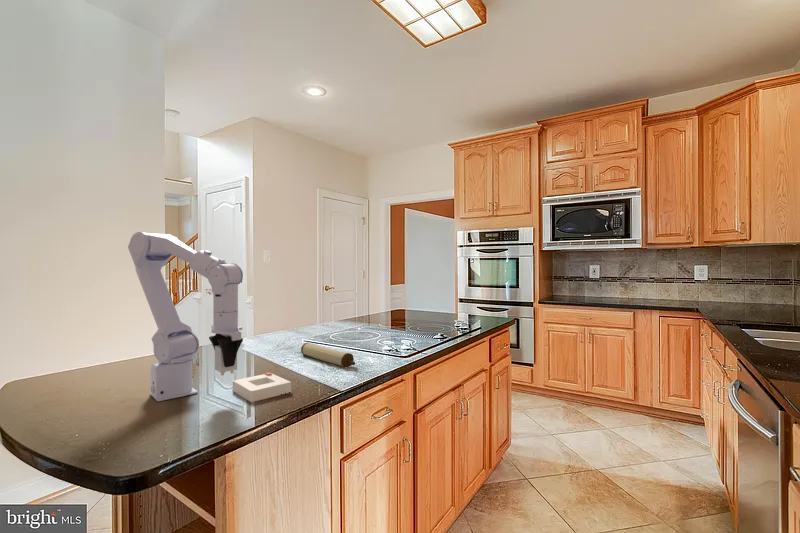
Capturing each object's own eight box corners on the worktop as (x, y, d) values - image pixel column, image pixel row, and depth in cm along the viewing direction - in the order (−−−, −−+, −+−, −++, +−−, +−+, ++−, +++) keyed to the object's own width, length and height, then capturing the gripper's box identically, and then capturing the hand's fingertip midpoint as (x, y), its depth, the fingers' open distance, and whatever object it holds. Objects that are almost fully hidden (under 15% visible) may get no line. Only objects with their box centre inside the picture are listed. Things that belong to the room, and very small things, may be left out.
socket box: (251, 402, 99) (251, 389, 99) (232, 390, 108) (232, 379, 108) (291, 392, 107) (291, 380, 107) (270, 382, 116) (270, 371, 116)
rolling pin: (295, 355, 150) (295, 341, 150) (308, 352, 154) (308, 339, 154) (348, 372, 128) (348, 356, 128) (361, 368, 132) (361, 353, 132)
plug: (220, 376, 98) (220, 343, 98) (214, 373, 101) (214, 341, 101) (236, 373, 101) (236, 341, 101) (230, 370, 104) (230, 339, 103)
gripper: (253, 312, 98) (253, 367, 98) (230, 307, 108) (230, 356, 109) (224, 315, 93) (224, 372, 93) (203, 309, 104) (203, 361, 104)
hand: (225, 364), depth 101 cm, fingers closed on plug, 4 cm apart
